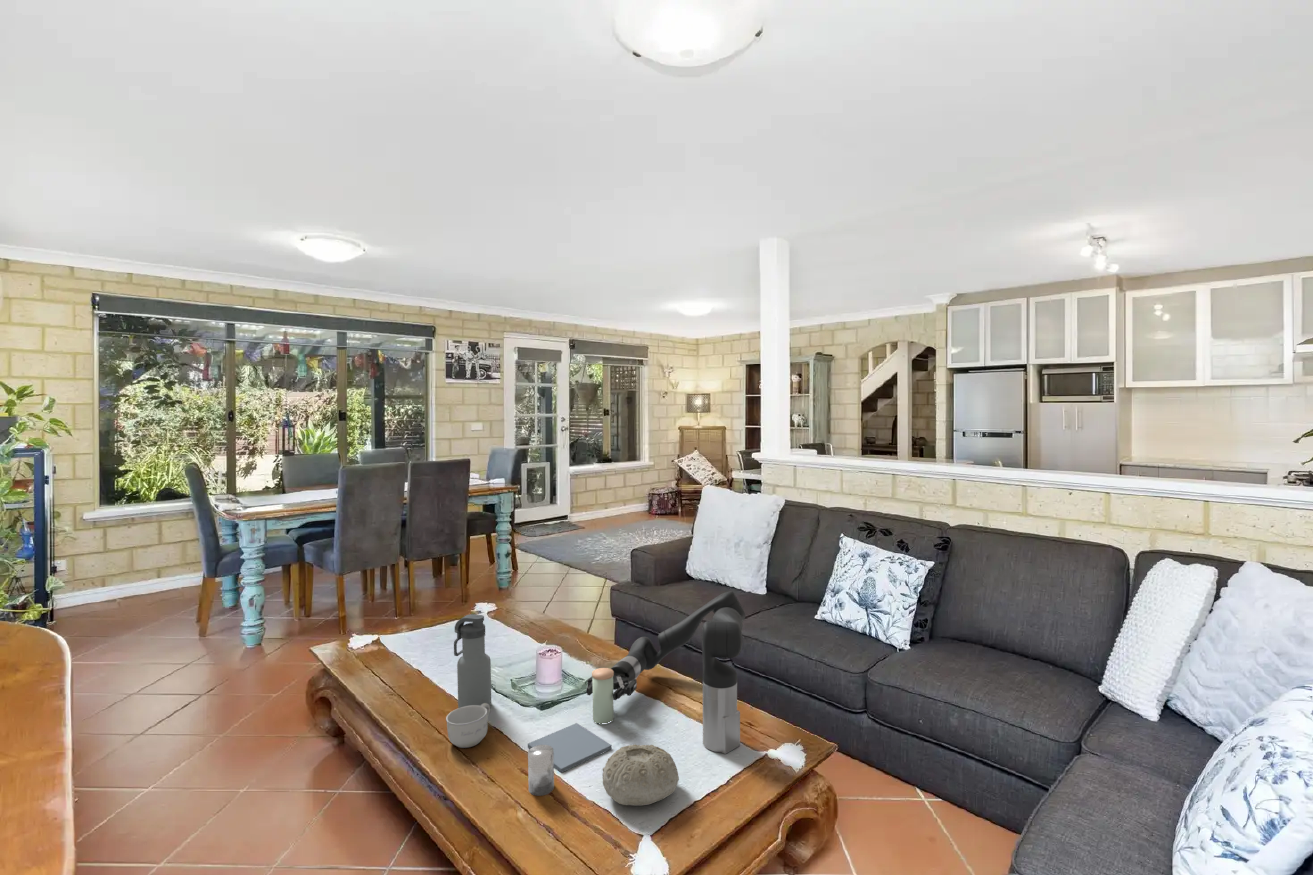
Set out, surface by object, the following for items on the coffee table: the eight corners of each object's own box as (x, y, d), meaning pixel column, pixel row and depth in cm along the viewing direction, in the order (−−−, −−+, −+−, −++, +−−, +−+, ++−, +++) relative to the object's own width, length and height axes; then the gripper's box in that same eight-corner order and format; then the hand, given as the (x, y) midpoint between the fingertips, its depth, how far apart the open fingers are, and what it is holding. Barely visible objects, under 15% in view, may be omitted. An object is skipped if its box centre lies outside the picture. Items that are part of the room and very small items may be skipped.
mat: (611, 748, 167) (611, 745, 167) (561, 772, 157) (561, 768, 156) (576, 726, 179) (576, 722, 179) (527, 747, 168) (527, 743, 168)
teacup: (462, 757, 164) (462, 727, 163) (438, 744, 170) (437, 715, 170) (505, 734, 175) (504, 706, 174) (480, 723, 181) (480, 696, 181)
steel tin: (558, 788, 150) (558, 751, 150) (537, 799, 146) (536, 761, 146) (545, 777, 155) (544, 741, 154) (523, 787, 151) (523, 751, 150)
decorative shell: (637, 763, 160) (637, 725, 160) (693, 790, 149) (693, 749, 149) (587, 797, 147) (586, 756, 146) (645, 829, 135) (644, 784, 135)
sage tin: (618, 719, 183) (618, 672, 182) (601, 727, 179) (600, 679, 178) (605, 711, 187) (604, 666, 187) (588, 719, 183) (587, 672, 182)
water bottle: (450, 712, 188) (448, 620, 186) (467, 697, 197) (465, 610, 196) (481, 716, 185) (479, 623, 184) (497, 701, 195) (495, 612, 193)
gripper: (645, 687, 194) (623, 711, 179) (604, 680, 199) (579, 702, 184) (645, 663, 194) (623, 685, 179) (604, 657, 199) (579, 677, 184)
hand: (601, 694), depth 182 cm, fingers open, 8 cm apart
